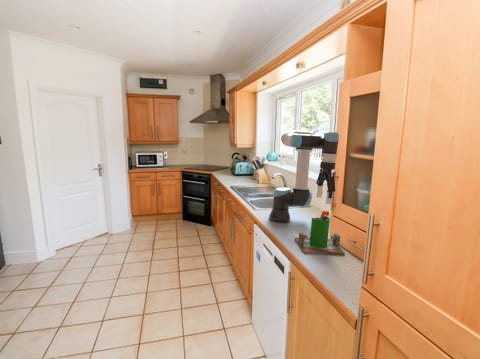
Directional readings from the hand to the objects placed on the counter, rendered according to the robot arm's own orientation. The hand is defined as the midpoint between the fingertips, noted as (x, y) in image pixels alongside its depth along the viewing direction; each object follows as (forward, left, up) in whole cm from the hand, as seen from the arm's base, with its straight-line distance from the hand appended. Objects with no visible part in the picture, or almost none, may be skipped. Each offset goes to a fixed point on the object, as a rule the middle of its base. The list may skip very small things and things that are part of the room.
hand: (323, 200), depth 141 cm
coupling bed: (0, 0, -27) cm, 27 cm away
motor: (+1, 0, -25) cm, 25 cm away
